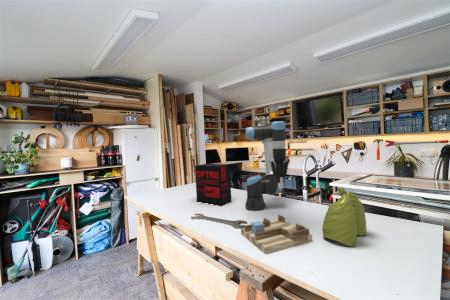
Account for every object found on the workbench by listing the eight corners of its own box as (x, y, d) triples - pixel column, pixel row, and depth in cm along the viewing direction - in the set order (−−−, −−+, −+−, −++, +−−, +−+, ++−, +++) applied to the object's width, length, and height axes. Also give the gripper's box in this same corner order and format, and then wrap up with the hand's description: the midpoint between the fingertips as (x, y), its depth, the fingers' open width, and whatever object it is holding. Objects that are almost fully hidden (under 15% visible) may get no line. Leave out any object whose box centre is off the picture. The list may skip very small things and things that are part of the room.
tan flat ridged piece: (241, 233, 118) (240, 222, 118) (281, 224, 128) (281, 214, 128) (265, 253, 96) (264, 240, 96) (312, 240, 106) (311, 228, 106)
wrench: (188, 219, 147) (187, 216, 147) (198, 214, 156) (197, 211, 155) (242, 230, 124) (242, 227, 124) (250, 224, 132) (250, 221, 132)
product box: (197, 202, 186) (194, 165, 185) (207, 198, 198) (205, 163, 197) (221, 206, 171) (219, 166, 170) (231, 201, 182) (229, 164, 181)
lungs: (339, 225, 123) (337, 183, 122) (370, 233, 111) (369, 186, 110) (317, 239, 107) (315, 191, 106) (351, 250, 95) (349, 196, 94)
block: (251, 231, 113) (251, 222, 113) (260, 230, 114) (259, 220, 114) (255, 235, 108) (255, 225, 108) (264, 233, 110) (264, 224, 109)
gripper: (284, 147, 131) (285, 185, 133) (265, 148, 127) (267, 188, 128) (292, 147, 124) (293, 187, 126) (273, 149, 120) (274, 191, 121)
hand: (280, 188), depth 127 cm, fingers closed
